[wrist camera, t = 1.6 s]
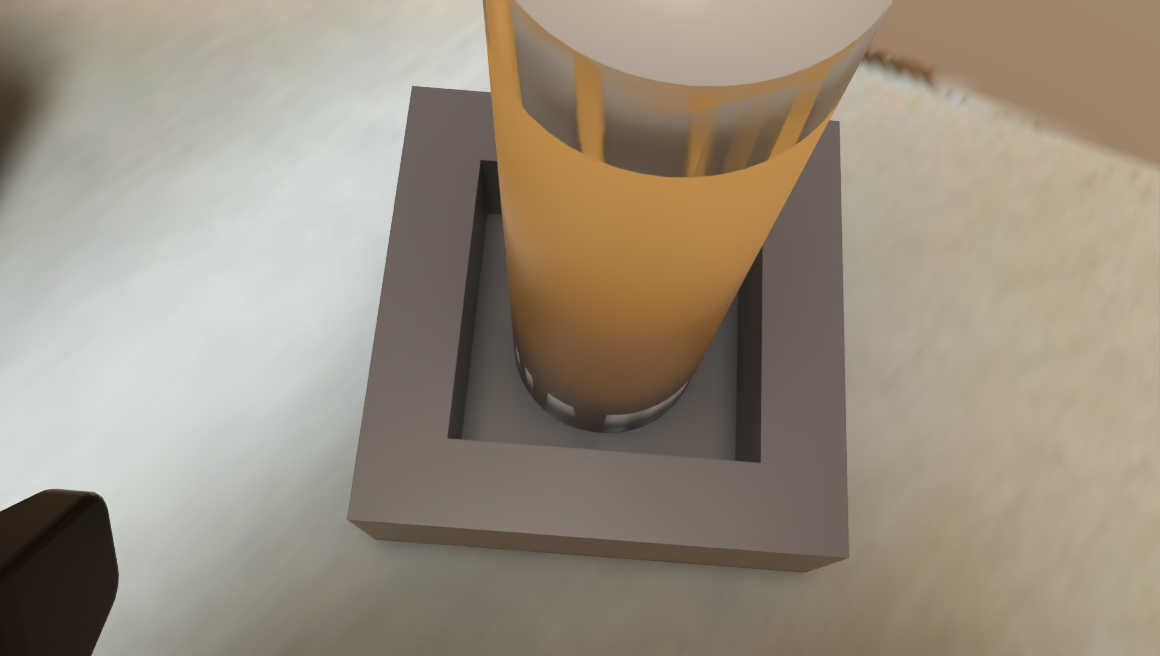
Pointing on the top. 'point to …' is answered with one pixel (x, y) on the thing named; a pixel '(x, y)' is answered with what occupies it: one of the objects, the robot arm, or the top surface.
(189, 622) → the top surface
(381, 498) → the socket block
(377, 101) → the top surface
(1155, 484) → the top surface
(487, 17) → the fuse cartridge
